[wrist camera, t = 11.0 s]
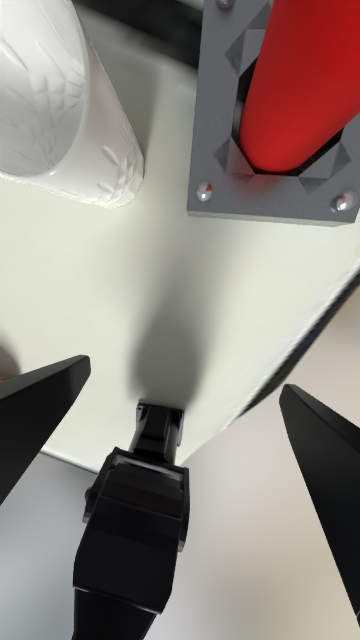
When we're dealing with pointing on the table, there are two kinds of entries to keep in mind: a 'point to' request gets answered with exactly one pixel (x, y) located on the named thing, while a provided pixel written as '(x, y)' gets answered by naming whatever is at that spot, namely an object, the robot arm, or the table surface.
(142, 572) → the robot arm
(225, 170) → the housing
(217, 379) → the table surface
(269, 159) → the beverage can
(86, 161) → the white cup
